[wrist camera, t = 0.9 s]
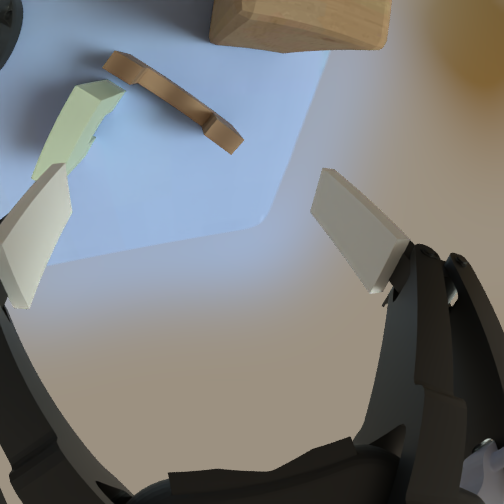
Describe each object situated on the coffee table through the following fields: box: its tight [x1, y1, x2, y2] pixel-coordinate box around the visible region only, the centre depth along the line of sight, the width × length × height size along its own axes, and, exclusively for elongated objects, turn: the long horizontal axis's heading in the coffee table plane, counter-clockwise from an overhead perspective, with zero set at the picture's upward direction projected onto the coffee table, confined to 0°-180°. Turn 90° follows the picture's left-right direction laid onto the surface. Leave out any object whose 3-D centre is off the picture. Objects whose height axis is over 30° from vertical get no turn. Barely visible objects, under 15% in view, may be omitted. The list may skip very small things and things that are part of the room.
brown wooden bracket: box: [102, 51, 244, 155], centre depth 26 cm, size 16×2×8 cm, turn 48°
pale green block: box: [31, 80, 126, 181], centre depth 24 cm, size 10×3×11 cm, turn 138°
